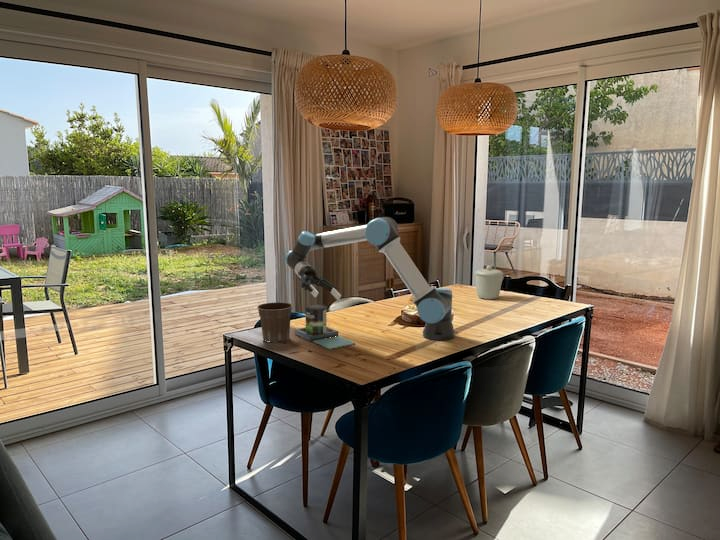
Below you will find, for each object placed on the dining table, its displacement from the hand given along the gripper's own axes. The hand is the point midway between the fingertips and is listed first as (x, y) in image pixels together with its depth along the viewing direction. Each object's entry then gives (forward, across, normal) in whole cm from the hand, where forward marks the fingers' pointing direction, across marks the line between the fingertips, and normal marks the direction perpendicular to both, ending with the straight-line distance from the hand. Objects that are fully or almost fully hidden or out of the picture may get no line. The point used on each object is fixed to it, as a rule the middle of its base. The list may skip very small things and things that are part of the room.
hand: (328, 296), depth 242 cm
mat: (+10, -7, -18) cm, 22 cm away
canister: (-12, -140, +7) cm, 141 cm away
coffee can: (-5, -10, -25) cm, 27 cm away
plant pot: (-10, +8, -32) cm, 34 cm away
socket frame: (-5, -9, -24) cm, 27 cm away
